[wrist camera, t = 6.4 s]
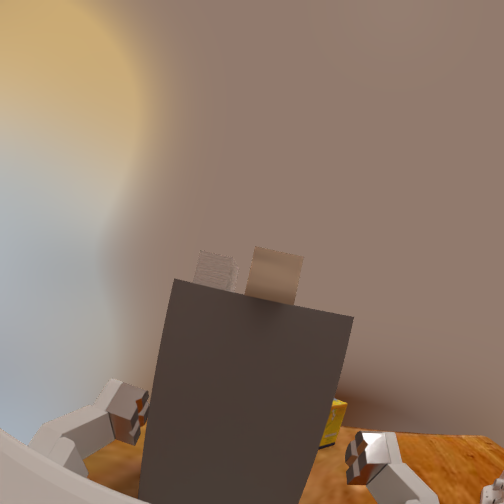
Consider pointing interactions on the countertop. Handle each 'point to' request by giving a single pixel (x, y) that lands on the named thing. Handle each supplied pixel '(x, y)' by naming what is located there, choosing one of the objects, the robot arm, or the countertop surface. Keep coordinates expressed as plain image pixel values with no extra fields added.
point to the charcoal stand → (239, 398)
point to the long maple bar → (274, 276)
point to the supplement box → (333, 423)
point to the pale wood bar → (216, 271)
